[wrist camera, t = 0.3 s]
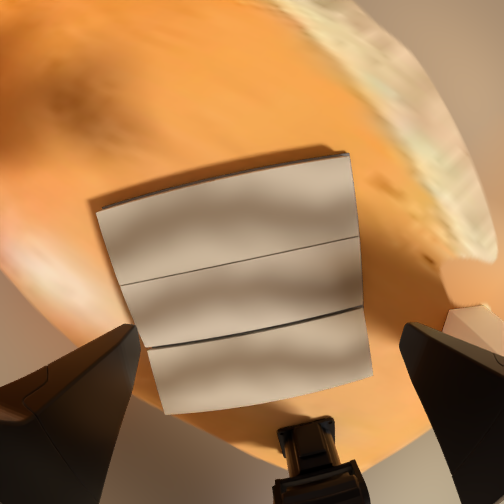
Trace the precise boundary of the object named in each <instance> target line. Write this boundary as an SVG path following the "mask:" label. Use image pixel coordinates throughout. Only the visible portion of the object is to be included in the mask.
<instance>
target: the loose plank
mask: <svg viewBox="0 0 504 504" xmlns="http://www.w3.org/2000/svg"><path fill="white" fill-rule="evenodd" d="M147 352H148V356H149V360H150V364H151V368H152V372H153V375H154V379H155V383H156V386H157V390H158V393H159V397H160V400H161V403H162V406H163V410H164V413H165V415H172V414H185V413H196V412H206V411H215V410H223V409H230V408H237V407H244V406H250V405H256V404H262V403H267V402H272V401H278V400H283V399H287V398H292V397H297V396H301V395H305V394H310V393H314V392H318V391H322V390H326V389H329V388H333V387H337V386H340V385H344V384H347V383H351V382H354V381H358V380H361V379H364V378H367V377H370V376H373V370H372V362H371V355H370V348H369V341H368V334H367V328H366V322H365V316H364V310H363V308H361V307H357V308H353V309H349V310H345V311H342V312H338V313H334V314H330V315H326V316H322V317H318V318H313V319H309V320H305V321H301V322H296V323H292V324H287V325H283V326H278V327H273V328H269V329H264V330H259V331H254V332H249V333H243V334H238V335H233V336H227V337H222V338H216V339H210V340H204V341H198V342H191V343H185V344H178V345H171V346H164V347H157V348H151V349H149V350H148V351H147Z"/></svg>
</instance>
